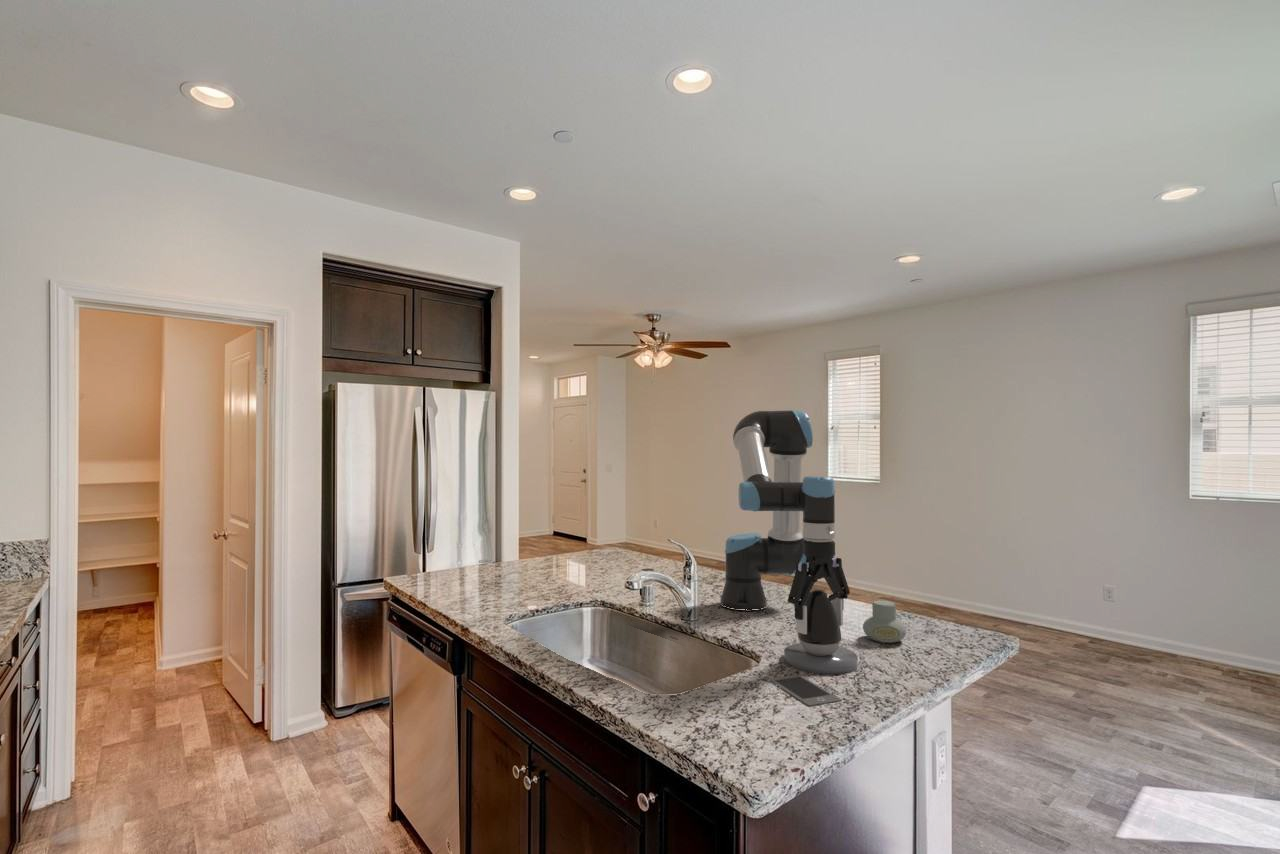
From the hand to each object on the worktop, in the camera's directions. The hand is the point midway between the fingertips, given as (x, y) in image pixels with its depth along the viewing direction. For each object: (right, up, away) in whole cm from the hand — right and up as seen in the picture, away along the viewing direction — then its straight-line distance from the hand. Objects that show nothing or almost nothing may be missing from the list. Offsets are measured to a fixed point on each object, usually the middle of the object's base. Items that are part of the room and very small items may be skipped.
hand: (819, 628), depth 148 cm
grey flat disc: (0, -8, 0) cm, 8 cm away
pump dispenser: (0, -6, 0) cm, 6 cm away
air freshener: (+22, -9, +17) cm, 29 cm away
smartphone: (-9, -8, -18) cm, 21 cm away
